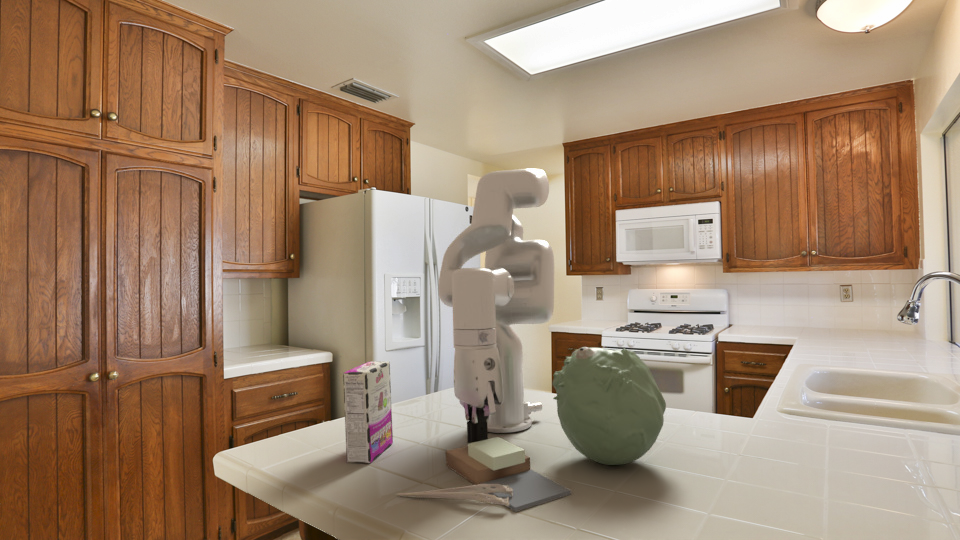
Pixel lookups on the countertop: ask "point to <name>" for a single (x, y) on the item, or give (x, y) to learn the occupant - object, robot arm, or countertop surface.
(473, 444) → the pale green sponge block
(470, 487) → the tweezers
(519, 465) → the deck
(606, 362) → the cabbage
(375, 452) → the candy bar box
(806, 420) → the countertop surface
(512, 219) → the robot arm
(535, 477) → the mat
